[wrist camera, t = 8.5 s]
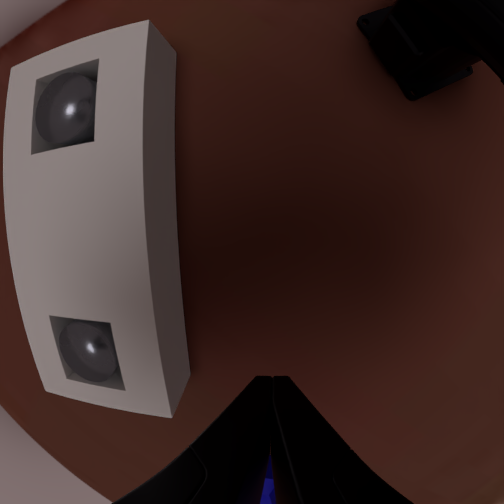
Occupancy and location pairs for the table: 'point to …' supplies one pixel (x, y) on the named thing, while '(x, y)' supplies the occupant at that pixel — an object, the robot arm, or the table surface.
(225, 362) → the table surface
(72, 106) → the near peg
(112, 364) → the far peg
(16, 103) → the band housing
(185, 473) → the robot arm
